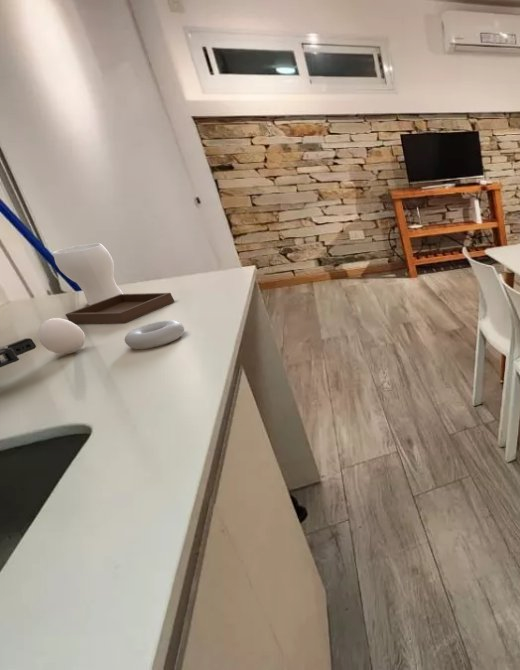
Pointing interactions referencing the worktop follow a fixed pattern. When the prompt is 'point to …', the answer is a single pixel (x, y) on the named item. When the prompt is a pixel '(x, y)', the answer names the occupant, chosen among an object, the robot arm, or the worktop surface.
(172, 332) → the donut
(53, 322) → the egg
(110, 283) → the cup
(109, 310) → the tray
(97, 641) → the worktop surface
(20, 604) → the worktop surface
